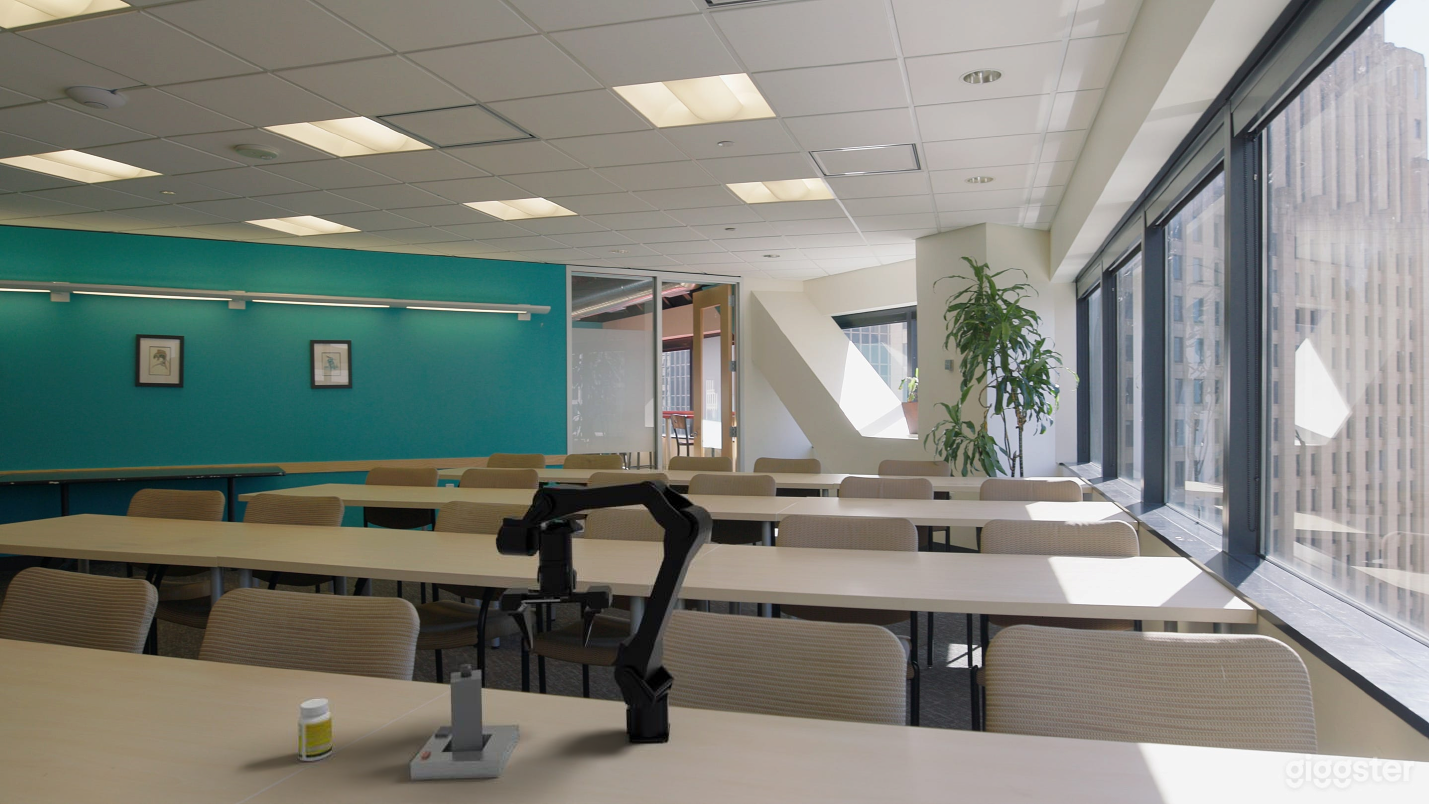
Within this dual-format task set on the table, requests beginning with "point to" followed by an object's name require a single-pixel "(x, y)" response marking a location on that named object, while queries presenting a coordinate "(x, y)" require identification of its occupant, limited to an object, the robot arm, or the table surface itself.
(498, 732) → the socket
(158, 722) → the table surface
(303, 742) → the supplement bottle
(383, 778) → the table surface
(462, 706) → the plug
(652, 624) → the robot arm
